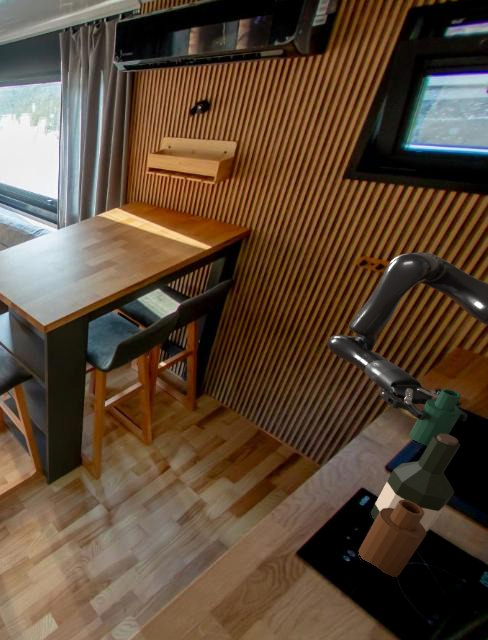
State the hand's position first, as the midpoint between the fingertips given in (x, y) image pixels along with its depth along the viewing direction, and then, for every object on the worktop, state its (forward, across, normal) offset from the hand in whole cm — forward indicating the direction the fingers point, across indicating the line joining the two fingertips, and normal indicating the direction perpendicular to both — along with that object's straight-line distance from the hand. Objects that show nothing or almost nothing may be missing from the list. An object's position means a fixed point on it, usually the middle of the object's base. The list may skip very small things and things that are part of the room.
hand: (444, 418), depth 96 cm
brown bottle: (+34, -34, +10) cm, 49 cm away
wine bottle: (+25, -25, +10) cm, 37 cm away
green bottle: (-1, 0, +10) cm, 10 cm away
